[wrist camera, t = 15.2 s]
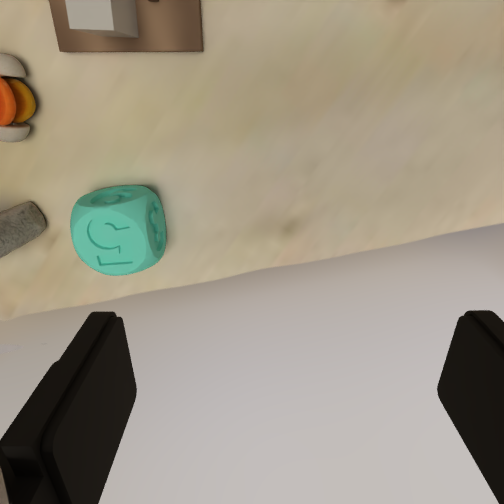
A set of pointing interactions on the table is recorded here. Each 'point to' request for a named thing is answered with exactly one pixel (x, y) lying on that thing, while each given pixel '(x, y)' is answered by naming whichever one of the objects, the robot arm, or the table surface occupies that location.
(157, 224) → the decorative dice
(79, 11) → the gray rectangular block
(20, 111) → the rainbow petal toy
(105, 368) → the robot arm
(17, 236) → the decorative stone
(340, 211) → the table surface
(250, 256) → the table surface
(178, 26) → the brown board
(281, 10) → the table surface
